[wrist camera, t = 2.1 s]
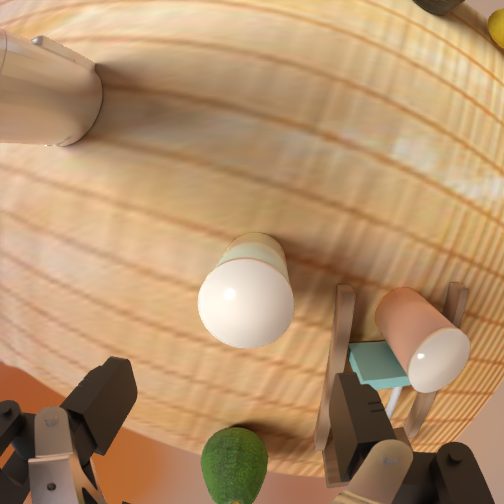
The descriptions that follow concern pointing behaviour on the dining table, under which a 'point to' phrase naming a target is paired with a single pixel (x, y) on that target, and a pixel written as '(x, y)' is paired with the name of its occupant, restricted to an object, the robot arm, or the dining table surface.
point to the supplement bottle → (439, 5)
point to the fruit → (234, 465)
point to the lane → (336, 365)
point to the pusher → (378, 369)
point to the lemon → (497, 27)
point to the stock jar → (422, 339)
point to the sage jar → (248, 293)
